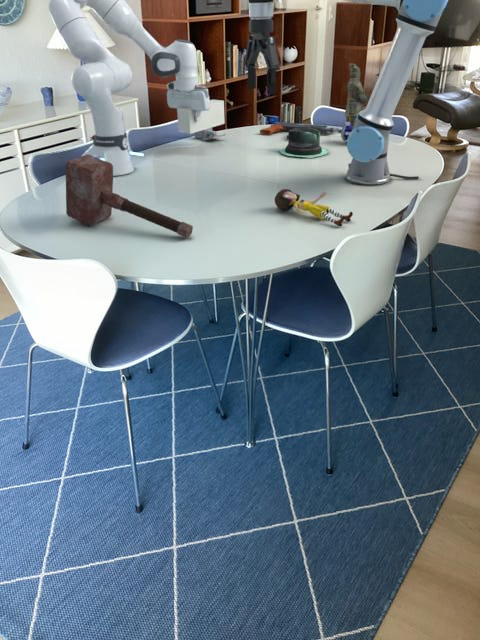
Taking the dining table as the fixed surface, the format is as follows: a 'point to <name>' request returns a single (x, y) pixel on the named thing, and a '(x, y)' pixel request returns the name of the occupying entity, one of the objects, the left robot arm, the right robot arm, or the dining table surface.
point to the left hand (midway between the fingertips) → (189, 120)
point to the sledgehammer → (105, 196)
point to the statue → (354, 95)
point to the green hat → (304, 143)
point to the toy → (346, 130)
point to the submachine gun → (291, 126)
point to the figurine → (308, 206)
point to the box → (201, 118)
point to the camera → (207, 134)
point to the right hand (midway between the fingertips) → (261, 91)
